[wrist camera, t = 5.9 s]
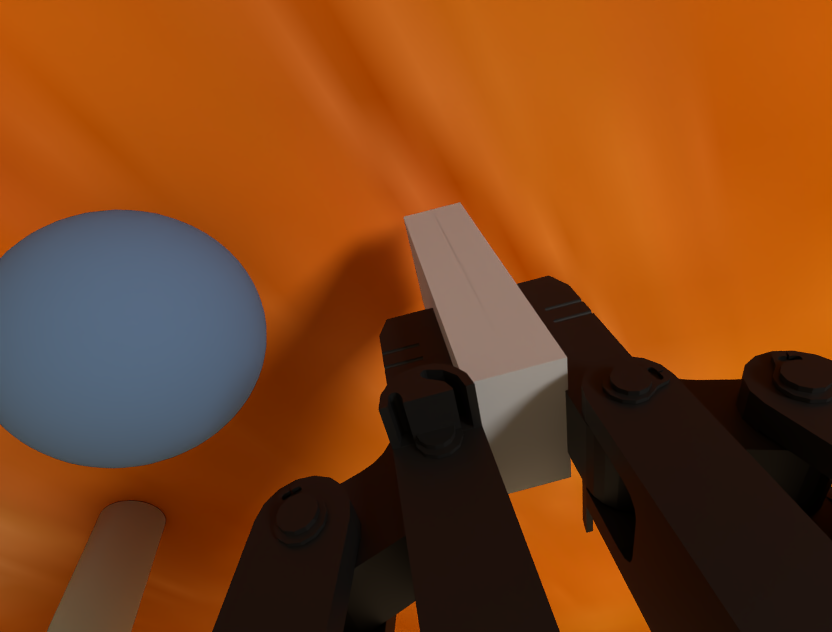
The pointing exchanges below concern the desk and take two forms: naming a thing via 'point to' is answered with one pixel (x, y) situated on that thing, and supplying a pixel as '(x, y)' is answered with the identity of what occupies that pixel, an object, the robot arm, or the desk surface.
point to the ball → (124, 338)
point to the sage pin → (111, 570)
